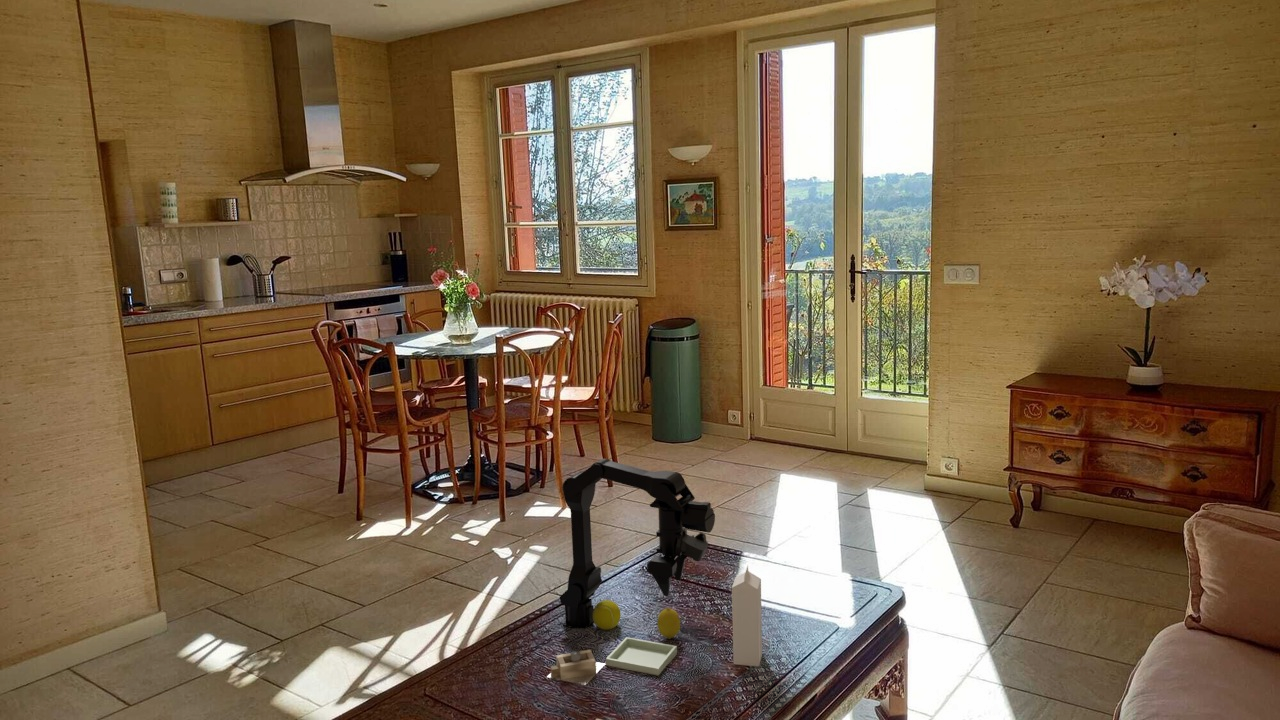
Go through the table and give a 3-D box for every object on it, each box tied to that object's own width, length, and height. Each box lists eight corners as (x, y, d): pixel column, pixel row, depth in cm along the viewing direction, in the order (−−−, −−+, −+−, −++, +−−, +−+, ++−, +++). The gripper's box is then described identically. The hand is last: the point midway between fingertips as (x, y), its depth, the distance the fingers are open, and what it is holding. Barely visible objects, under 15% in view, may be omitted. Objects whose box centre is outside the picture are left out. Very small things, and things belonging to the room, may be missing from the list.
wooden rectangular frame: (590, 661, 212) (590, 649, 211) (596, 673, 206) (595, 660, 206) (549, 668, 209) (548, 656, 209) (553, 680, 204) (553, 668, 203)
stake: (546, 678, 206) (545, 659, 205) (567, 657, 214) (566, 639, 214) (585, 686, 201) (584, 667, 201) (605, 665, 210) (604, 646, 210)
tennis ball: (616, 635, 225) (614, 609, 223) (589, 632, 227) (588, 606, 225) (624, 623, 231) (623, 597, 230) (598, 620, 233) (597, 594, 232)
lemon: (678, 644, 219) (677, 613, 217) (656, 643, 220) (655, 612, 218) (682, 634, 224) (681, 603, 223) (660, 632, 225) (659, 602, 224)
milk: (733, 664, 209) (730, 574, 205) (737, 651, 214) (734, 564, 210) (759, 666, 207) (757, 576, 203) (762, 653, 213) (760, 565, 209)
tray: (606, 666, 210) (605, 658, 209) (626, 644, 220) (626, 637, 219) (658, 677, 204) (658, 668, 204) (677, 653, 214) (676, 646, 214)
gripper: (691, 543, 203) (693, 608, 206) (714, 515, 220) (715, 576, 223) (645, 538, 207) (647, 602, 210) (671, 511, 224) (672, 571, 227)
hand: (672, 587), depth 217 cm, fingers open, 9 cm apart
